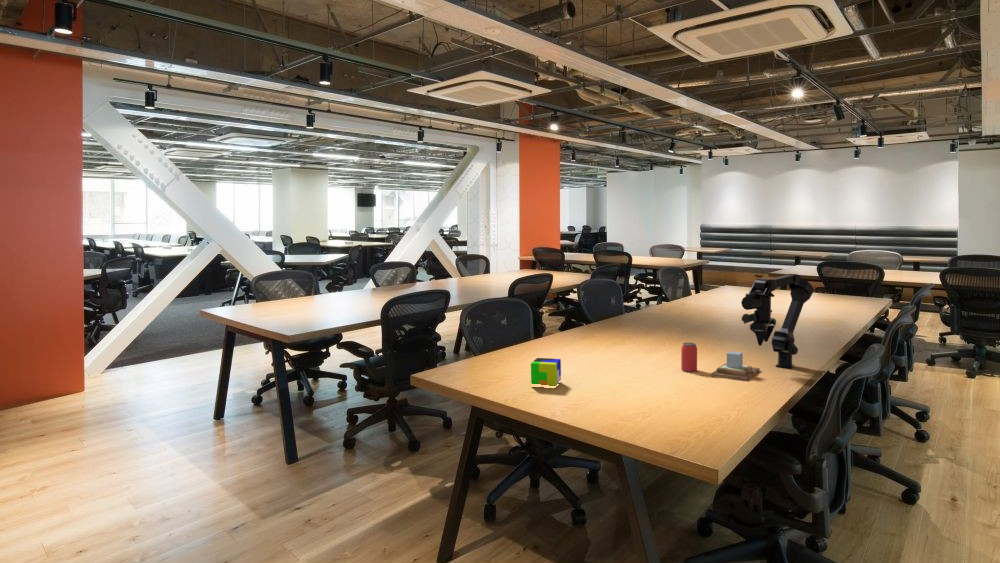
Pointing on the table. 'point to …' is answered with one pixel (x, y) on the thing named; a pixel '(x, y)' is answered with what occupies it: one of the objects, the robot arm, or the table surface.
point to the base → (735, 372)
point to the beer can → (689, 357)
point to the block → (734, 359)
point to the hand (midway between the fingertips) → (763, 343)
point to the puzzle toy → (546, 371)
